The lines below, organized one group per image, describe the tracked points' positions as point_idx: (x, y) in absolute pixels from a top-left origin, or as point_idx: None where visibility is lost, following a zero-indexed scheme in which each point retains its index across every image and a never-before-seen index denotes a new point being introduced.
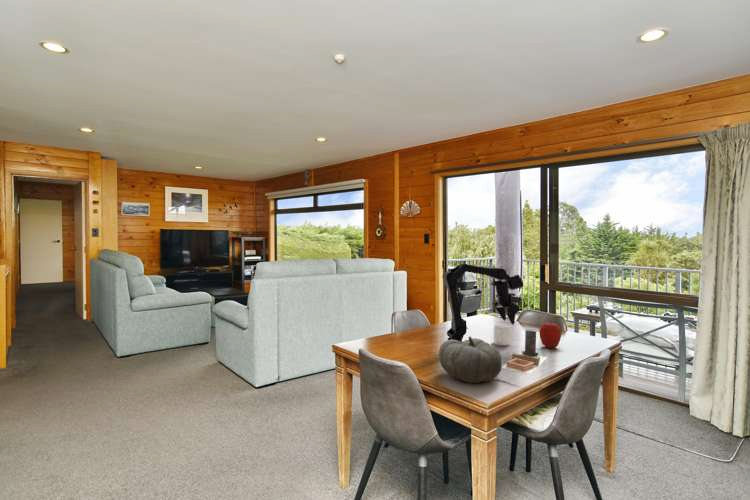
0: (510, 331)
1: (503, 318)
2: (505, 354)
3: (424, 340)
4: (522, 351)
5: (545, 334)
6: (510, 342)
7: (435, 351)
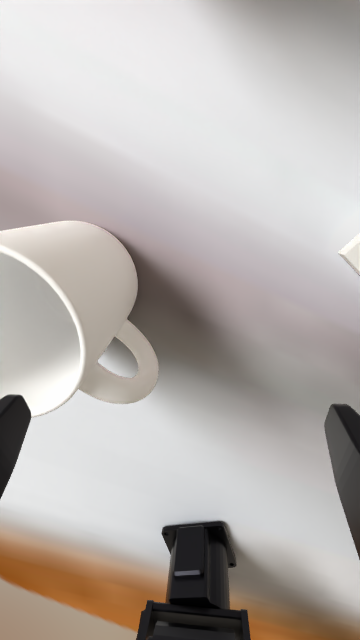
0: (67, 253)
1: (12, 448)
2: (306, 352)
3: (39, 584)
4: None
5: None
6: (98, 230)
7: None
